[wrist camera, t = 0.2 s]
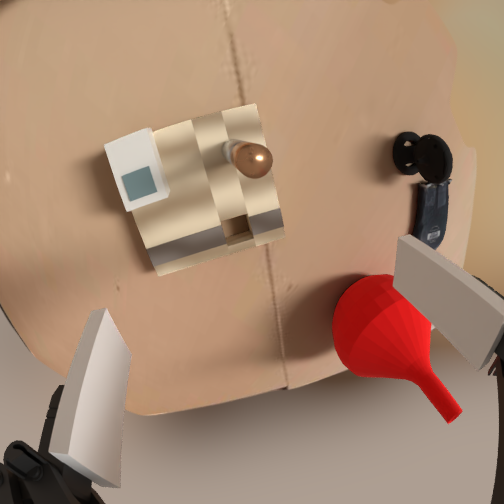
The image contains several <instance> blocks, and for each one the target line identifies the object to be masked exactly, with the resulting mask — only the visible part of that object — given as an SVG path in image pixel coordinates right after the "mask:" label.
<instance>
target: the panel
mask: <svg viewBox="0 0 504 504" xmlns="http://www.w3.org/2000/svg"><path fill="white" fill-rule="evenodd" d="M152 133H153V136H154V139H155V143H156V146H157V150H158V153H159V156H160V159H161V163H162V166H163V169H164V172H165V176H166V179H167V182H168V185H169V188H170V193H169V196H168V198H165V199H162V200H159V201H156V202H153V203H150V204H147V205H145V206H142V207H139V208H136V209H134V210H131V211H132V214H133V217H134V219H135V222H136V224H137V227H138V230H139V232H140V235H141V237H142V239H143V242H144V244H145V247H146V250H147V253H148V255H149V257H150V260H151V262H152V264H153V266H154V268H155V270H156V272H157V274H158V277H159V276H162V275H166V274H169V273H172V272H175V271H178V270H182V269H185V268H188V267H191V266H194V265H198V264H201V263H204V262H207V261H211V260H214V259H217V258H220V257H224V256H227V255H230V254H233V253H237V252H240V251H243V250H246V249H250V248H253V247H256V246H259V245H263V244H266V243H269V242H272V241H276V240H279V239H282V238H285V237H286V236H285V231H284V225H283V220H282V215H281V210H280V207H279V202H278V197H277V193H276V188H275V183H274V179H273V174H272V170H271V169H270V171H269V172H268V173H267V174H266V175H265V176H263V177H261V178H258V179H251V178H248V177H246V176H244V175H243V174H242V173H241V172H240V171H238V170H237V169H236V168H235V167H234V166H233V165H232V164H230V163H229V162H228V161H227V160H226V159H225V158H224V157H223V155H222V152H221V149H222V146H223V144H224V143H225V142H226V141H227V140H229V139H238V140H243V141H247V142H252V143H256V144H261V145H263V146H265V147H266V143H265V139H264V135H263V130H262V126H261V122H260V118H259V114H258V110H257V106H256V103H255V104H250V105H246V106H241V107H237V108H232V109H228V110H224V111H220V112H216V113H212V114H209V115H205V116H201V117H198V118H194V119H191V120H188V121H184V122H181V123H178V124H175V125H172V126H168V127H165V128H162V129H160V130H157V131H154V132H152ZM266 148H267V147H266ZM244 214H245V215H246V219H247V223H248V226H249V230H250V231H246V232H243V233H240V234H237V235H233V236H230V237H227V238H225V236H224V233H223V229H222V226H221V223H220V222H221V221H224V220H227V219H230V218H234V217H237V216H240V215H244Z"/></svg>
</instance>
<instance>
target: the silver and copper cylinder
mask: <svg viewBox="0 0 504 504" xmlns="http://www.w3.org/2000/svg"><path fill="white" fill-rule="evenodd" d="M221 152H222V155H223V157H224V158H225V159H226V160H227V161H228V162H229V163H230V164H232V165H233V166H234V167H235V168H236V169H237V170H238V171H240V172H241V173H242V174H243V175H244V176H246V177H248V178H251V179H258V178H261V177H263V176H265V175H266V174H267V173H268V172H269V171H270V169H271V167H272V162H273V159H272V155H271V153H270V151H269V150H268V149H267V148H266V147H265V146H263V145H261V144H256V143H252V142H247V141H243V140H238V139H229V140H227V141H226V142H225V143H224V144H223V146H222V149H221Z"/></svg>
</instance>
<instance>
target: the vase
mask: <svg viewBox="0 0 504 504" xmlns="http://www.w3.org/2000/svg"><path fill="white" fill-rule="evenodd" d="M393 280H394V276H392V275H388V274H383V275H372V276H367V277H365V278H362V279H360V280H359V281H357V282H355V283H354V284H352V285H351V286H350V287H349V288H348V289H347V290H346V291H345V292H344V293H343V295H342V296H341V297H340V299H339V301H338V303H337V305H336V308H335V311H334V316H333V322H332V333H333V339H334V345H335V349H336V352H337V354H338V356H339V358H340V360H341V361H342V363H343V364H344V365H345V366H346V367H347V368H348V369H349V370H350V371H351V372H353V373H354V374H355V375H357V376H361V377H385V378H395V379H406V380H409V381H412V382H414V383H415V384H417V385H418V386H419V387H420V388H421V390H422V391H423V392H424V394H425V395H426V396H427V398H428V399H429V400H430V402H431V403H432V404H433V405H434V407H435V408H436V409H437V410H438V412H439V413H440V414H441V415H442V417H443V418H444V419H445V420H446V422H447V423H448V424H449V423H451V422H452V421H453V420H455V419H456V418H457V417H458V416H459V415H460V414H461V413H462V409H461V408H460V406H459V405H458V404H457V402H456V401H455V399H454V398H453V397H452V396H451V394H450V393H449V391H448V390H447V389H446V387H445V386H444V385H443V384H442V382H441V381H440V380H439V378H438V377H437V376H436V375H435V374H434V372H433V371H432V368H431V365H430V359H429V352H430V333H431V322H430V321H429V320H428V319H427V318H426V317H425V316H424V315H423V314H421V313H420V312H419V311H418V310H417V309H416V308H415V307H414V306H413V305H412V304H411V303H410V302H409V301H408V300H407V299H406V298H405V297H404V296H403V295H401V294H400V293H399V292H398V291H397V290H396V289H395V288H394V287H393Z"/></svg>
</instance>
